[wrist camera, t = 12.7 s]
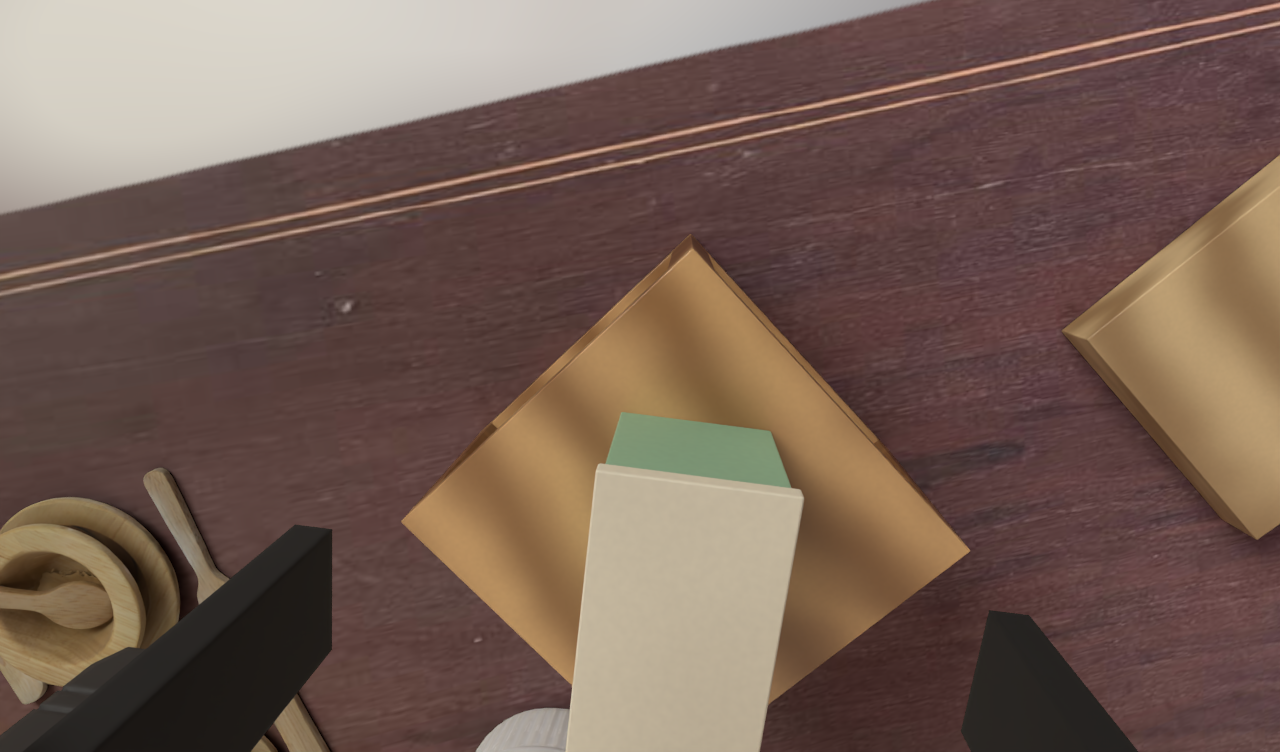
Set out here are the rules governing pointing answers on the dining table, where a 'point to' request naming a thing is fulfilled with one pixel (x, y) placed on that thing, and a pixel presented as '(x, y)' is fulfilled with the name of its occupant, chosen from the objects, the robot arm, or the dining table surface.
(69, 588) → the tableware set
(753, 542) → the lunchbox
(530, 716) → the ramekin
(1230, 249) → the wooden square board
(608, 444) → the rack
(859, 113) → the dining table surface
